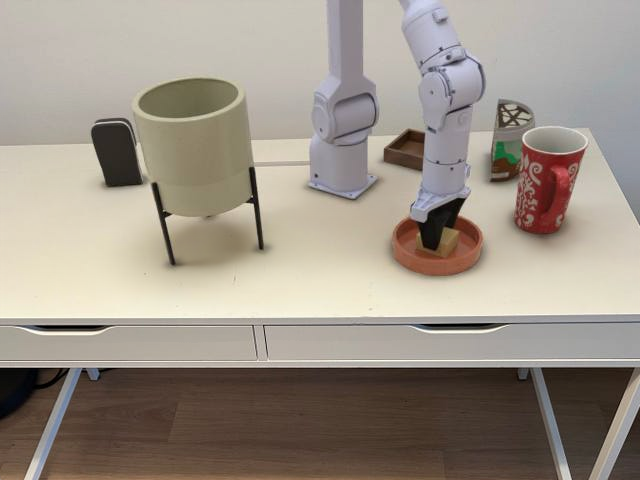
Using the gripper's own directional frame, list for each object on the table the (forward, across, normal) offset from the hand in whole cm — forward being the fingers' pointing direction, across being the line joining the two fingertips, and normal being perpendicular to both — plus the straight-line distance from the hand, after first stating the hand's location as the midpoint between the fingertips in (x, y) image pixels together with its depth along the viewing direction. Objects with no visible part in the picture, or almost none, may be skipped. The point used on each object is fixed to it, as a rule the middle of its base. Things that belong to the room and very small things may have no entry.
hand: (436, 240), depth 98 cm
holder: (+2, +25, +16) cm, 30 cm away
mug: (+2, +13, -11) cm, 17 cm away
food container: (+2, +28, 0) cm, 28 cm away
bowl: (+2, 0, 0) cm, 2 cm away
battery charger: (+2, -8, +58) cm, 59 cm away
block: (+1, 0, 0) cm, 1 cm away
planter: (+2, -15, +31) cm, 34 cm away
